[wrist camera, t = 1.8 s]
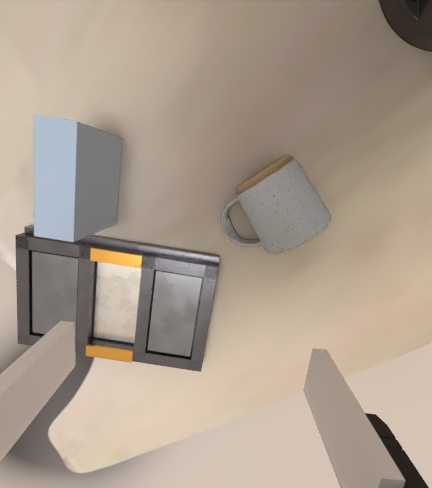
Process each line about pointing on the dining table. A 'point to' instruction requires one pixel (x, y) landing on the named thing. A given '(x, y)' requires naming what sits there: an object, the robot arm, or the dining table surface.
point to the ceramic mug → (279, 207)
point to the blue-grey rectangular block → (74, 178)
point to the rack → (117, 297)
